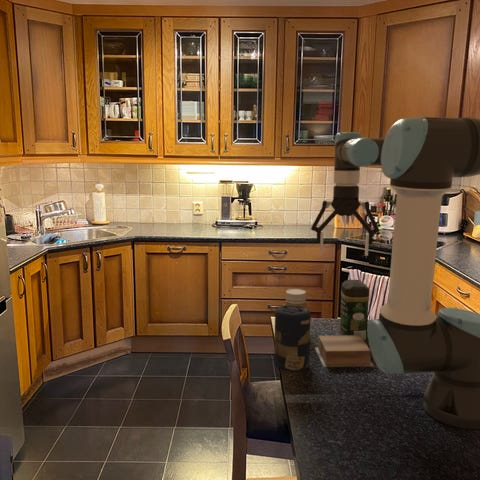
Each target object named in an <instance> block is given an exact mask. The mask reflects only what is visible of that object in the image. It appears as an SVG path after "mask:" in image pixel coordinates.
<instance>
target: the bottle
mask: <svg viewBox="0 0 480 480" xmlns="http://www.w3.org/2000/svg"><path fill="white" fill-rule="evenodd" d="M306 292H307V291H306V290H304V289H302V288H289V289H286V291H285V303H284V305H300V306H304V307H306V308H308V306H307V302H306V300H307V299H306V298H307V296H306V295H307V293H306Z"/></svg>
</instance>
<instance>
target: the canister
mask: <svg viewBox="0 0 480 480" xmlns="http://www.w3.org/2000/svg"><path fill="white" fill-rule="evenodd" d="M274 312H275V313H274V348H273V350H274V358H273V359H274V365H275V367H277V368H278V369H280V370H283V371H286V372H299V371H300V372H301V371H304V370H306V369H308V368H309V366H310V350H311V318H312V317H311V315H312V314H311V310H310V308H308V307H307V308H306V307H304V306H300V305H285V304H284V305H279V306H278V307H276V309H275V311H274Z"/></svg>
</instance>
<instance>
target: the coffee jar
mask: <svg viewBox="0 0 480 480" xmlns="http://www.w3.org/2000/svg"><path fill="white" fill-rule="evenodd" d="M369 301H370V288H369V286H367V284H365V282H362V281H360V279H346V280H344V281H343V282H342V283H341V289H340V315H339V316H340V321H339V334H340V335H360V336H361V338H362V339H363V341H366V340H367V339H368V326H369V324H368V322H369V321H368V320H369Z"/></svg>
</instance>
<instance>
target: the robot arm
mask: <svg viewBox="0 0 480 480" xmlns="http://www.w3.org/2000/svg"><path fill="white" fill-rule="evenodd" d="M334 138H335V140H334V159H333V160H334V161H333V162H334V166H333V167H334V168H333V169H334V170H333V184H334V186H333V193H332V194H333V196H332V201H330V200H326V199H324V200H323V201H322V205H321V209H320V211H319V212H318V214H317V216H316V218H315V220H314V222H313V224H312V225H311V228H310V229H311V231H314V232H316V243H318V244H319V246H320V247H319V248H320V249H319V254H320V255H323V253H324V231H323V230H324V229H325V228H326V227H327V226H328V224H329V223H330V222H331V221H332V220H333V219H334V218H335V217H336V216H337V215H338V216H340V217H343V216H347V217H351V216H355V218H356V220H357V221H358V222H359V223H360V224H361V225H362V226H363V228H364V230H366V231H367V232H366V233H365V246H364V247H365V249H364V255H365V256H366V257H368V256H369V245H373V237H374V235H375V234H377V233H379V232H380V229H379V226H378V224H377V222H376V219H375V218H374V216H373V214H372V211H371V208H370V202H369V201H368V200H364V201H359V198H360V196H359V195H360V187H359V184H360V171H361V167H367V166H368V167H371V166H372V167H375V166H377V167H381V171H382V173H383V175H384V176H385V178H387V179H390V181H389V186H390V188H392V190H393V191H394V192H395V193H396V201H395V202H396V203H395V213H394V227H393V237H392V248H391V250H392V251H391V259H390V271H389V283H388V284H389V285H388V297H387V302H386V303H385V304H383V305H382V306H381V307H380V308H379V317H378V318H374V319H372V320H371V319H370V321H369V324H368V330H367V339H368V345H369V349H370V350H371V356H372V358H373V360H374V363H375V364H376V366H377V368H379V370H380V371H382V372H383V373H386V374H399V375H404V374H414V373H415V374H417V373H419V374H420V373H433V375H432V377H431V379H430V381H429V384H428V385H427V388H426V390H425V391H424V394H423V402H422V406H423V409H424V411H425V412H426V413H427V414H428V415H429V416H431V417H432V418H433V419H435V420H437V421H439V422H441V423H442V424H446V425H448V426H452V427H454V428H455V427H456V428H460V429H465V430H480V313H478V312H475V311H471V310H467V309H463V308H457V307H443V308H440V309H439V310H438V312H437V314H436V313H435V312H434V310H433V309H432V308H431V303H432V294H433V293H432V292H433V283H434V275H435V274H434V273H435V266H436V257H437V255H436V254H437V248H438V247H437V246H438V239H439V237H438V236H439V228H440V227H439V226H440V221H441V219H440V218H441V211H442V210H441V209H442V201H443V200H442V199H443V196H444V195H445V194H446V193H448V192H449V191H450V190H452V186H453V185H452V184H453V178H469V177H475V176H478V175H480V118H476V117H431V116H429V117H425V116H416V117H407V118H406V117H405V118H401V119H398V120H397V121H395V122H394V124H392V125H391V127H390V128H389V130H388V131H387V133H386V134H385V138H384V137H383V138H382V137H380V138H379V137H376V138H373V137H370V138H369V137H362V135H361V133H360V132H358V131H357V132H355V131H352V132H351V131H346V132H345V131H343V132H338V133H336V134H335V137H334ZM330 206H331V208H333V211H332V212H331V213H330V214H329V216H328V217H327V218H326V219H324V221H323V222H322V223H321V224H320V225H319V222H320V220H321V219H322V217H323V216H324V213H325V212H326V209H328V208H330ZM360 207H362V209H364V210H365V212H366V214H367V217H368V218H369V220H370V223H371V225H372V227H373V228H371V227H370V226H369V224H368V223H367V222H366V221H365V219H364V218H363V217H362V216H361V215H360V213H359V212H358V209H359V208H360ZM318 225H319V226H318Z"/></svg>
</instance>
